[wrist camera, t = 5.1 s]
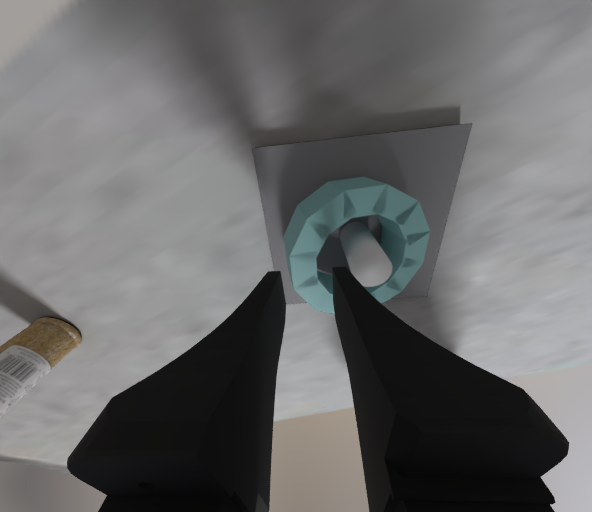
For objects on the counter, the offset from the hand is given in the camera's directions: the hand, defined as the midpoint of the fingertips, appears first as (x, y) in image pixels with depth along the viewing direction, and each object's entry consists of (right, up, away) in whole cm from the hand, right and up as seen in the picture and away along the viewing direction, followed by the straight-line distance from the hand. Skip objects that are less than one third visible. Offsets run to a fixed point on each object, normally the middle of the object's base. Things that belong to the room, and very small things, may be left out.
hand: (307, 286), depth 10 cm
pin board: (+4, +3, +5) cm, 7 cm away
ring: (+3, +2, +4) cm, 5 cm away
